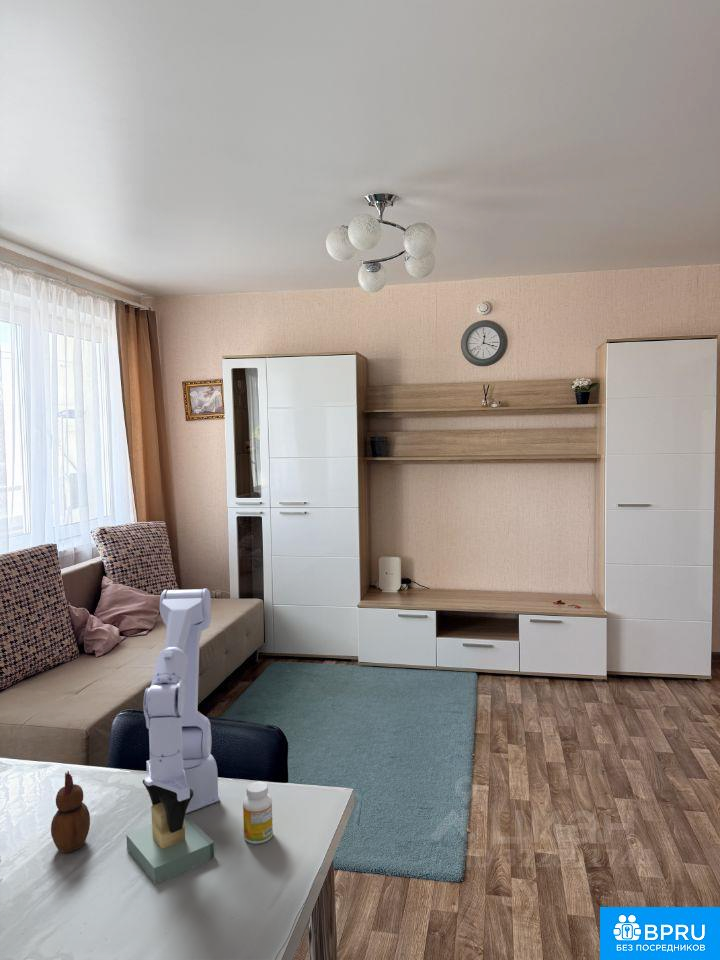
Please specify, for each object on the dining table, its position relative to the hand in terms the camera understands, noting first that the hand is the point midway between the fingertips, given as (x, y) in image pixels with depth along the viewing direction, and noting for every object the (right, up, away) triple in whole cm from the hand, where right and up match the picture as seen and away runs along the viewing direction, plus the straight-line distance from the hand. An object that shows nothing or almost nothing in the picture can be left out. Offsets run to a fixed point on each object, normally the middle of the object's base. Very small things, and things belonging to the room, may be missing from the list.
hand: (168, 822), depth 123 cm
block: (0, -3, 0) cm, 3 cm away
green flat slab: (0, -6, 0) cm, 6 cm away
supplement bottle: (+15, -5, +5) cm, 17 cm away
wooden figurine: (-19, -6, +3) cm, 20 cm away
